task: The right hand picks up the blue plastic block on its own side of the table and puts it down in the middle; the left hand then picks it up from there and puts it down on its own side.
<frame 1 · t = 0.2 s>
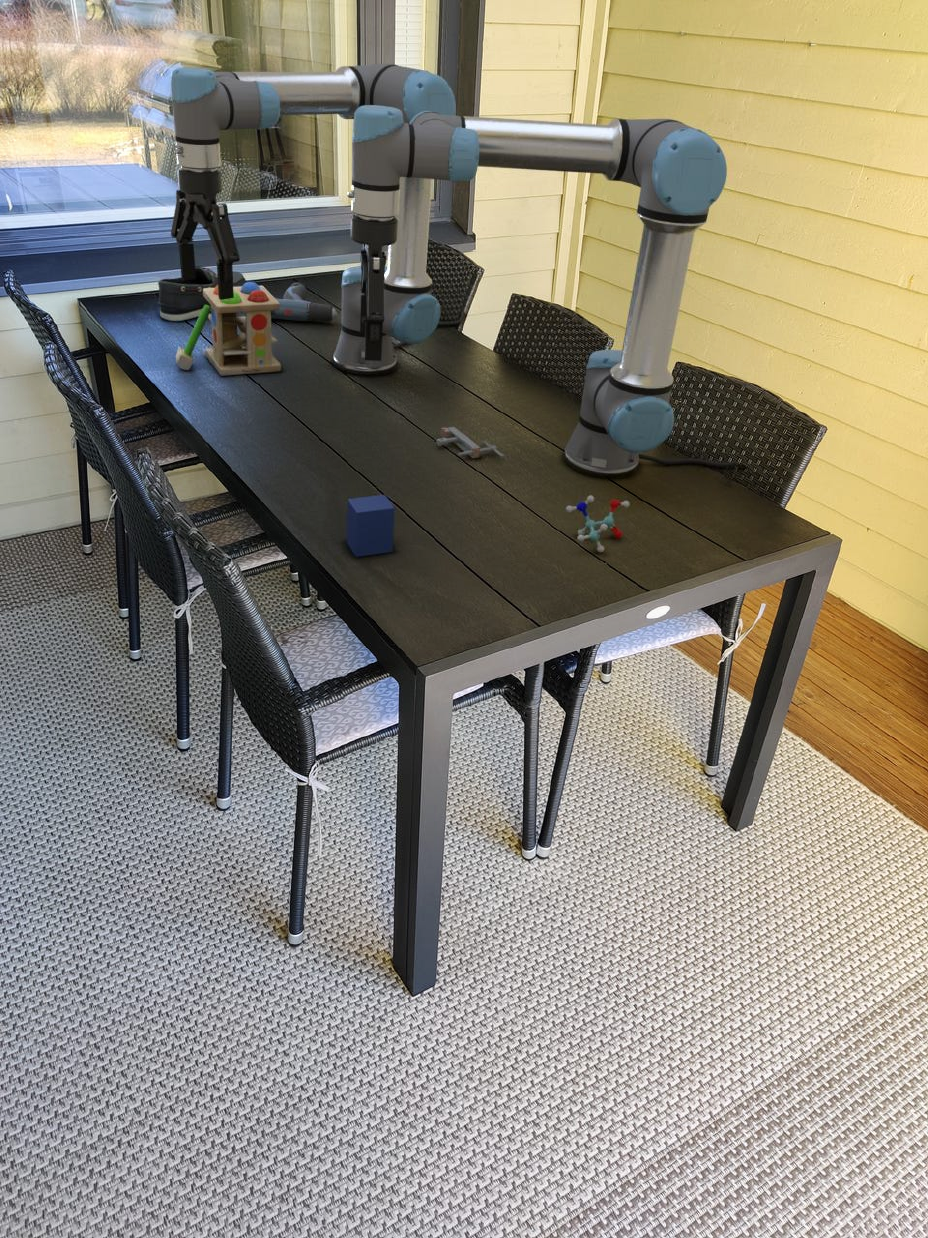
left hand: (207, 288, 186), 28 cm above the table, tool pointing down, fingers open, 13 cm apart
right hand: (370, 345, 168), 28 cm above the table, tool pointing down, fingers open, 13 cm apart
block: (369, 547, 167), on the table
molecular model: (592, 539, 175), on the table
power drill: (305, 313, 267), on the table
boat shoe: (205, 305, 265), on the table
pounding bench toy: (225, 365, 230), on the table
clamp: (466, 451, 202), on the table
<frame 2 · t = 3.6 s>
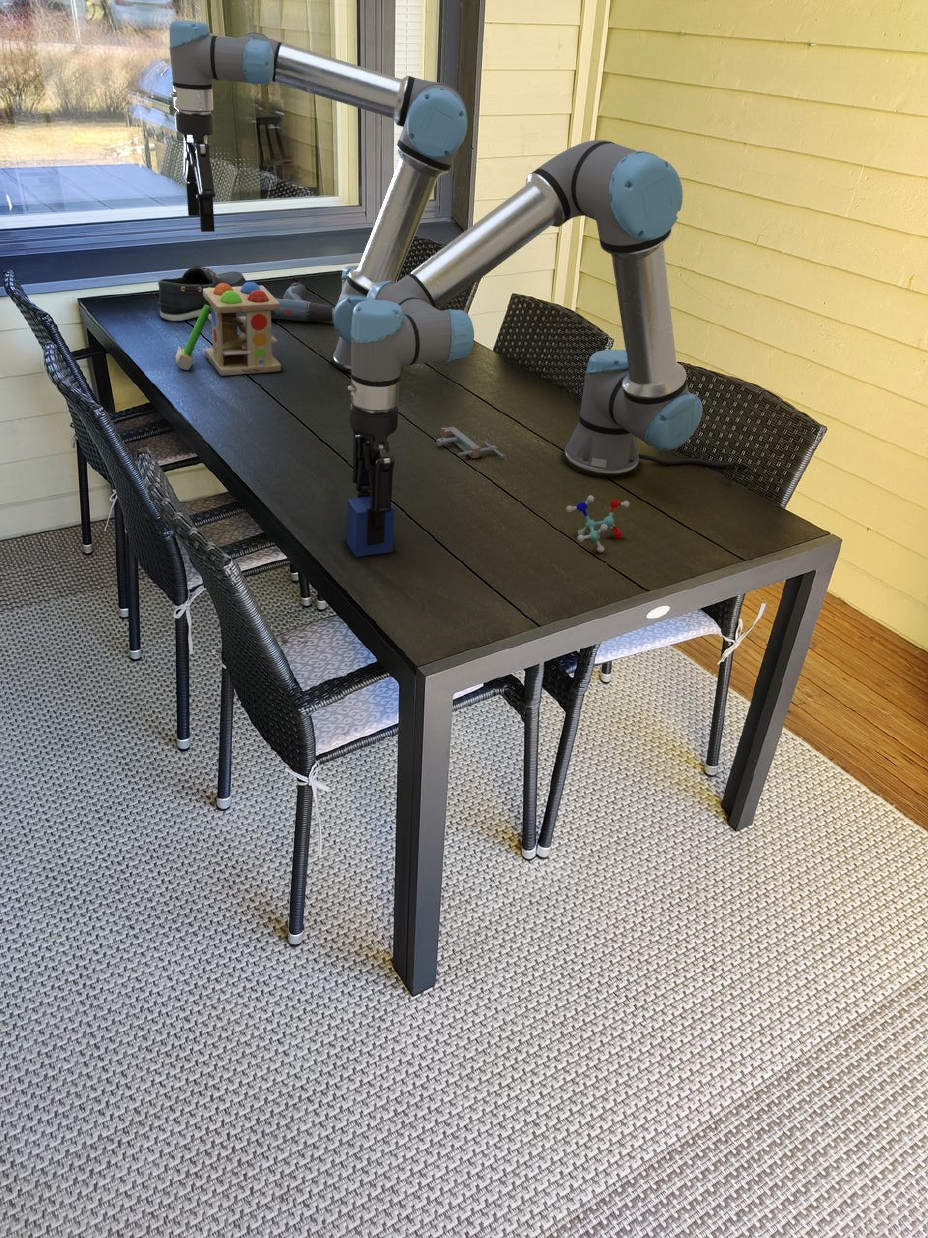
left hand: (201, 223, 207), 33 cm above the table, tool pointing down, fingers open, 13 cm apart
right hand: (370, 534, 165), 2 cm above the table, tool pointing down, fingers closed on block, 5 cm apart
block: (369, 547, 167), on the table, touching right hand
everything else where it was.
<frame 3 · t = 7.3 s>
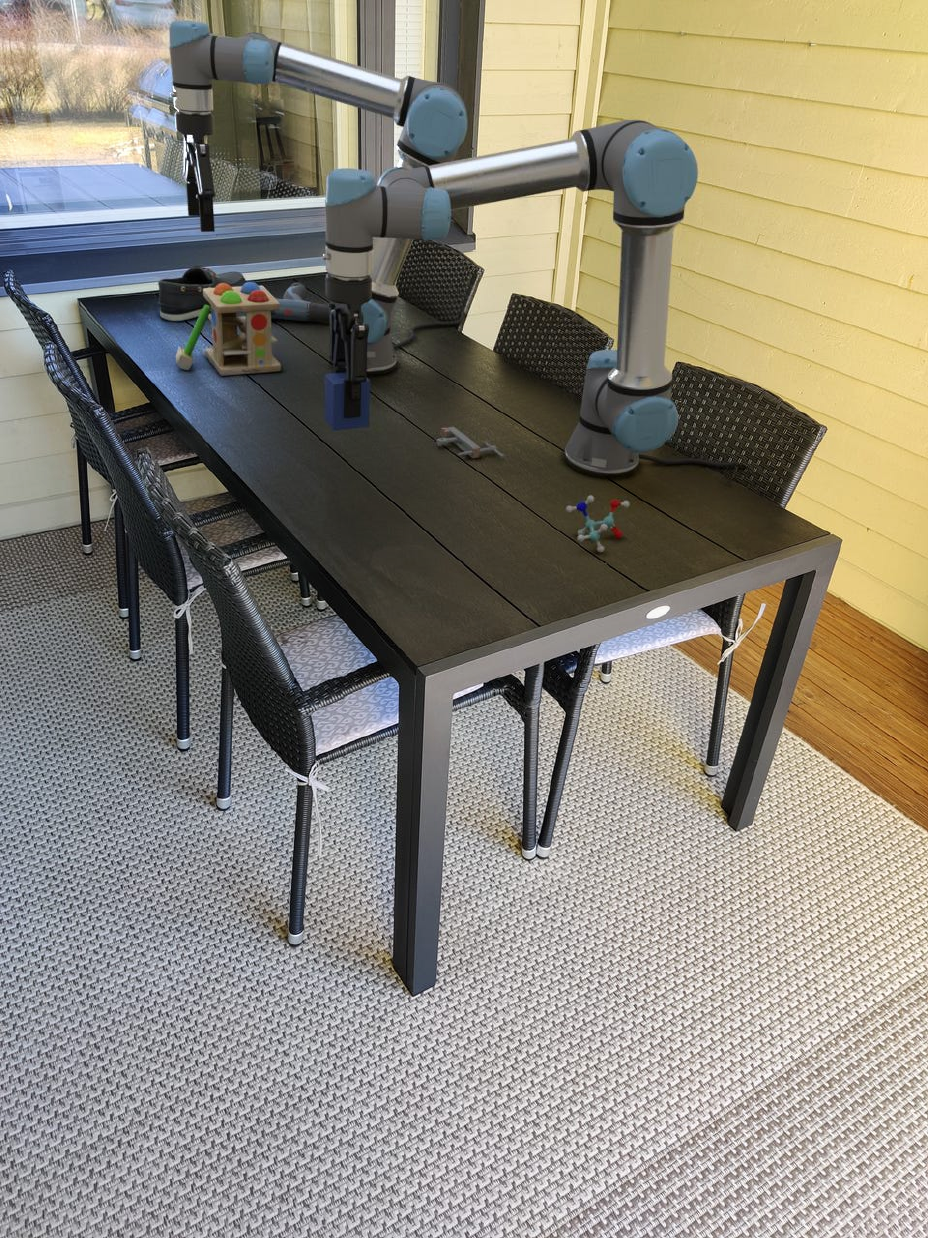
left hand: (201, 223, 207), 33 cm above the table, tool pointing down, fingers open, 13 cm apart
right hand: (347, 410, 171), 17 cm above the table, tool pointing down, fingers closed on block, 5 cm apart
block: (346, 423, 173), point 15 cm above the table, touching right hand
everything else where it was.
when the right hand's fingers open (4 cm above the table, at t = 11.0 s): block drops 1 cm, on the table.
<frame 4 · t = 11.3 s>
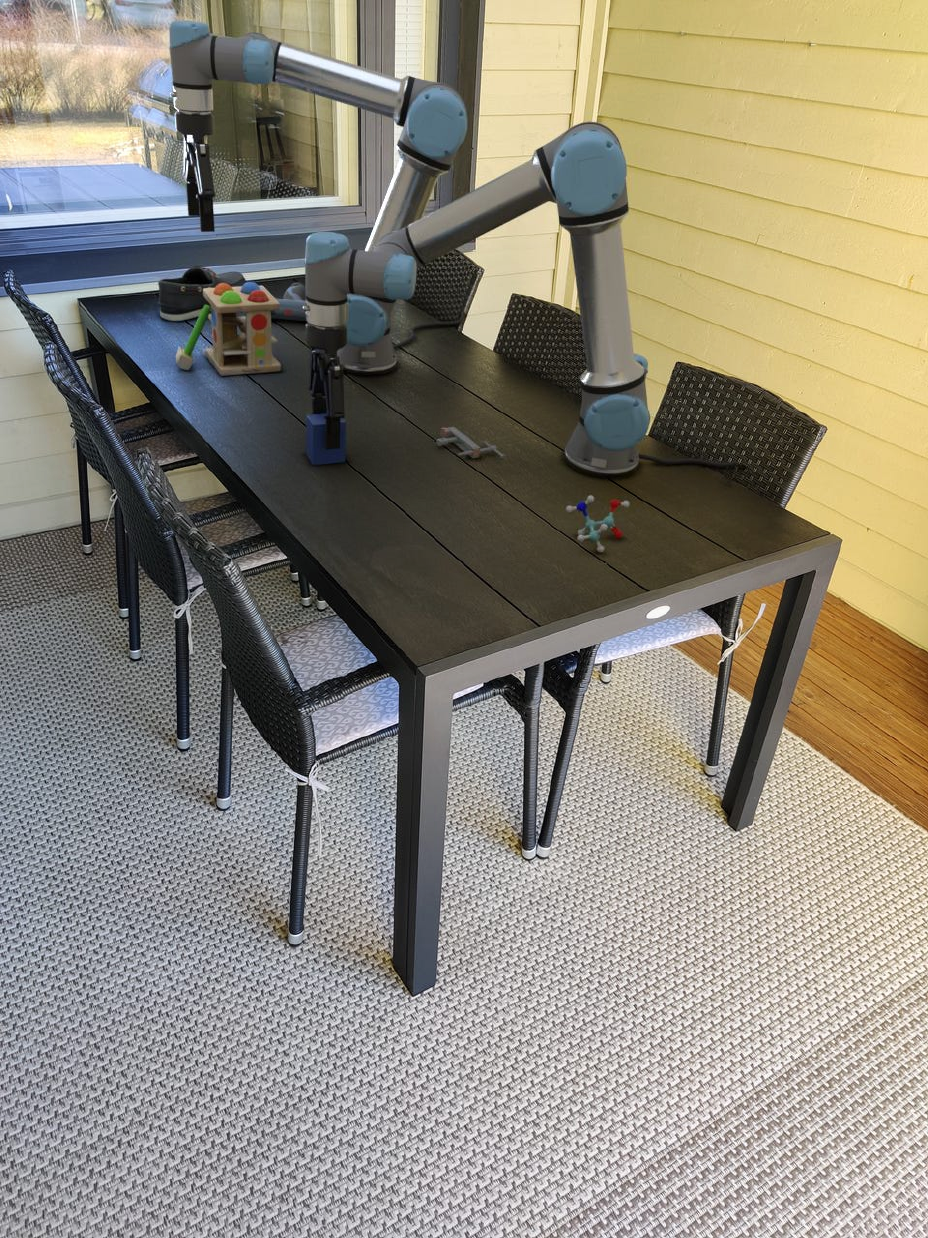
left hand: (201, 223, 207), 33 cm above the table, tool pointing down, fingers open, 13 cm apart
right hand: (325, 438, 191), 4 cm above the table, tool pointing down, fingers open, 8 cm apart
block: (325, 458, 194), on the table
everything else where it was.
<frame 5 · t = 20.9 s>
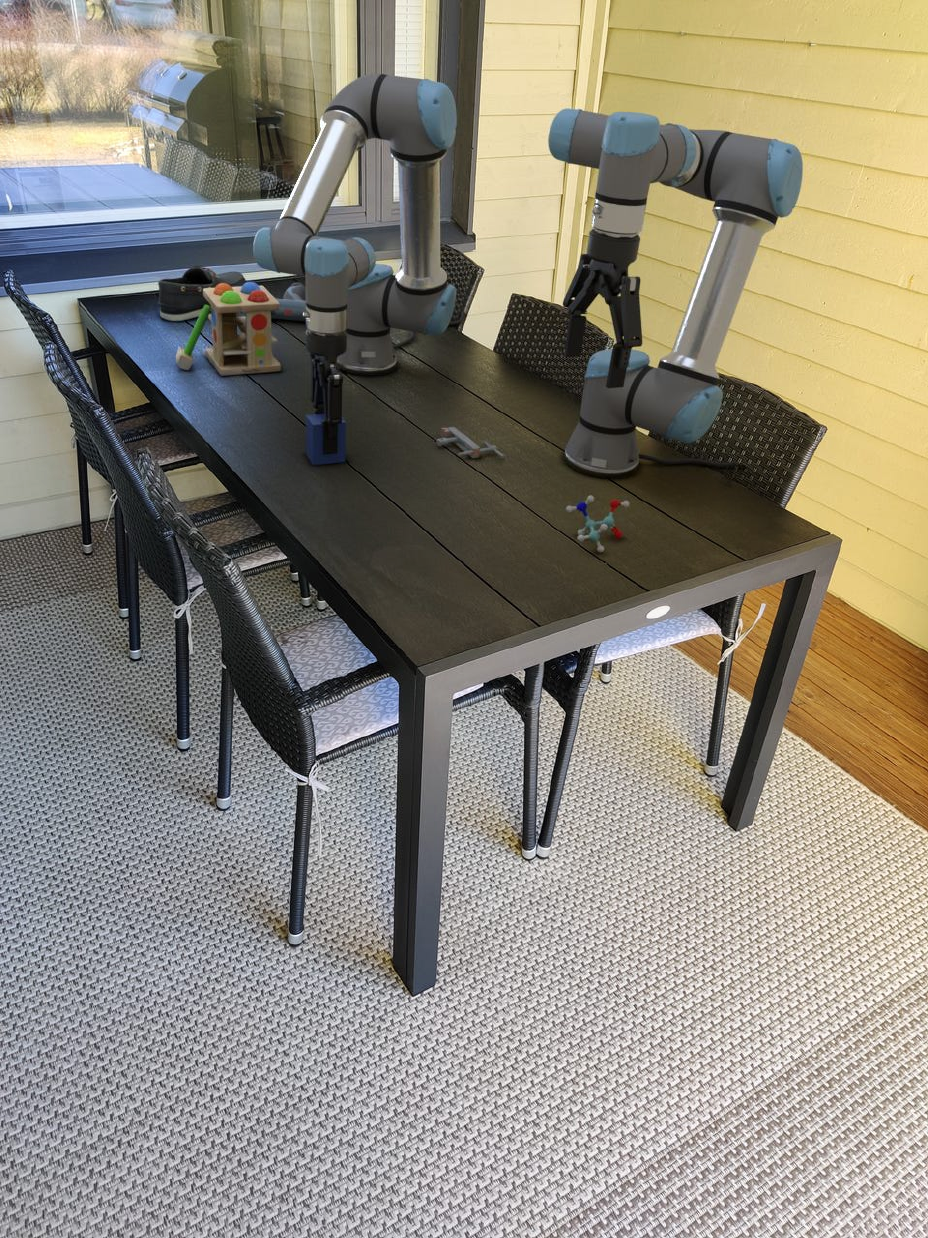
left hand: (325, 446, 192), 2 cm above the table, tool pointing down, fingers closed on block, 5 cm apart
right hand: (592, 371, 156), 32 cm above the table, tool pointing down, fingers open, 13 cm apart
block: (325, 458, 194), on the table, touching left hand
everything else where it was.
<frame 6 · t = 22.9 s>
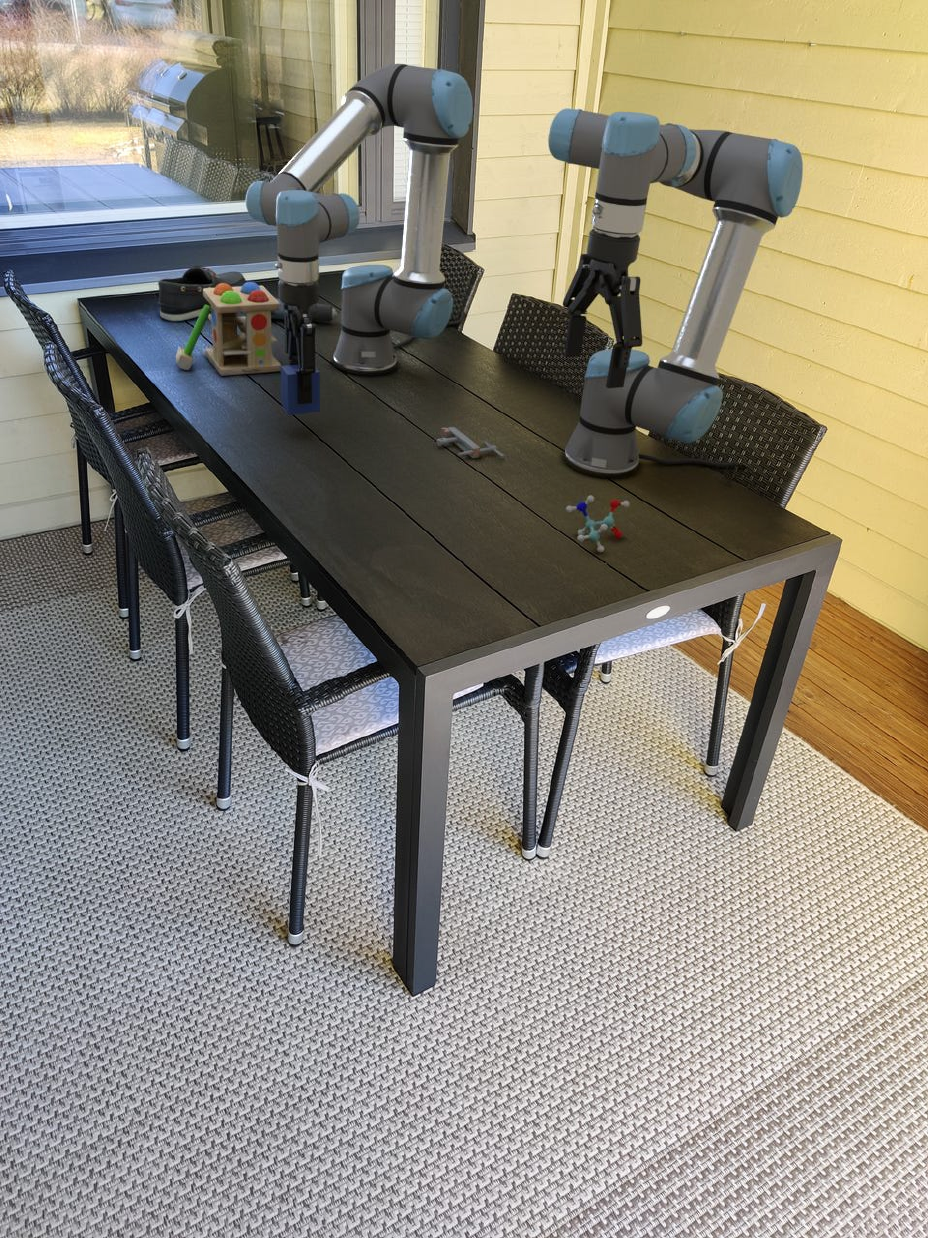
left hand: (300, 397, 198), 8 cm above the table, tool pointing down, fingers closed on block, 5 cm apart
right hand: (592, 371, 156), 32 cm above the table, tool pointing down, fingers open, 13 cm apart
block: (300, 408, 199), point 6 cm above the table, touching left hand
everything else where it was.
when the left hand's fingers open (4 cm above the table, at t = 25.2 s): block drops 1 cm, on the table.
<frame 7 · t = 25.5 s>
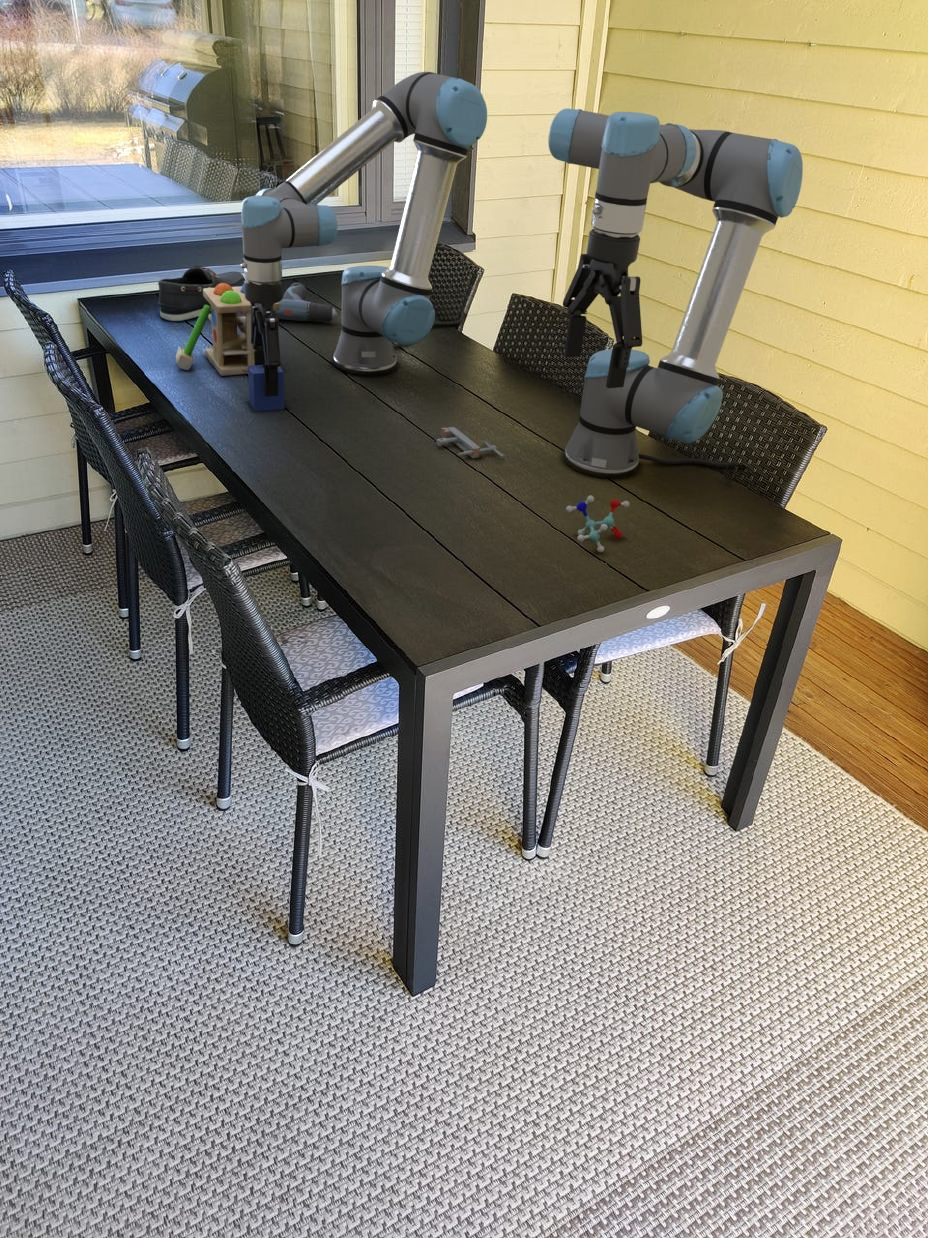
left hand: (266, 387, 210), 4 cm above the table, tool pointing down, fingers open, 8 cm apart
right hand: (592, 371, 156), 32 cm above the table, tool pointing down, fingers open, 13 cm apart
block: (267, 405, 213), on the table
everything else where it was.
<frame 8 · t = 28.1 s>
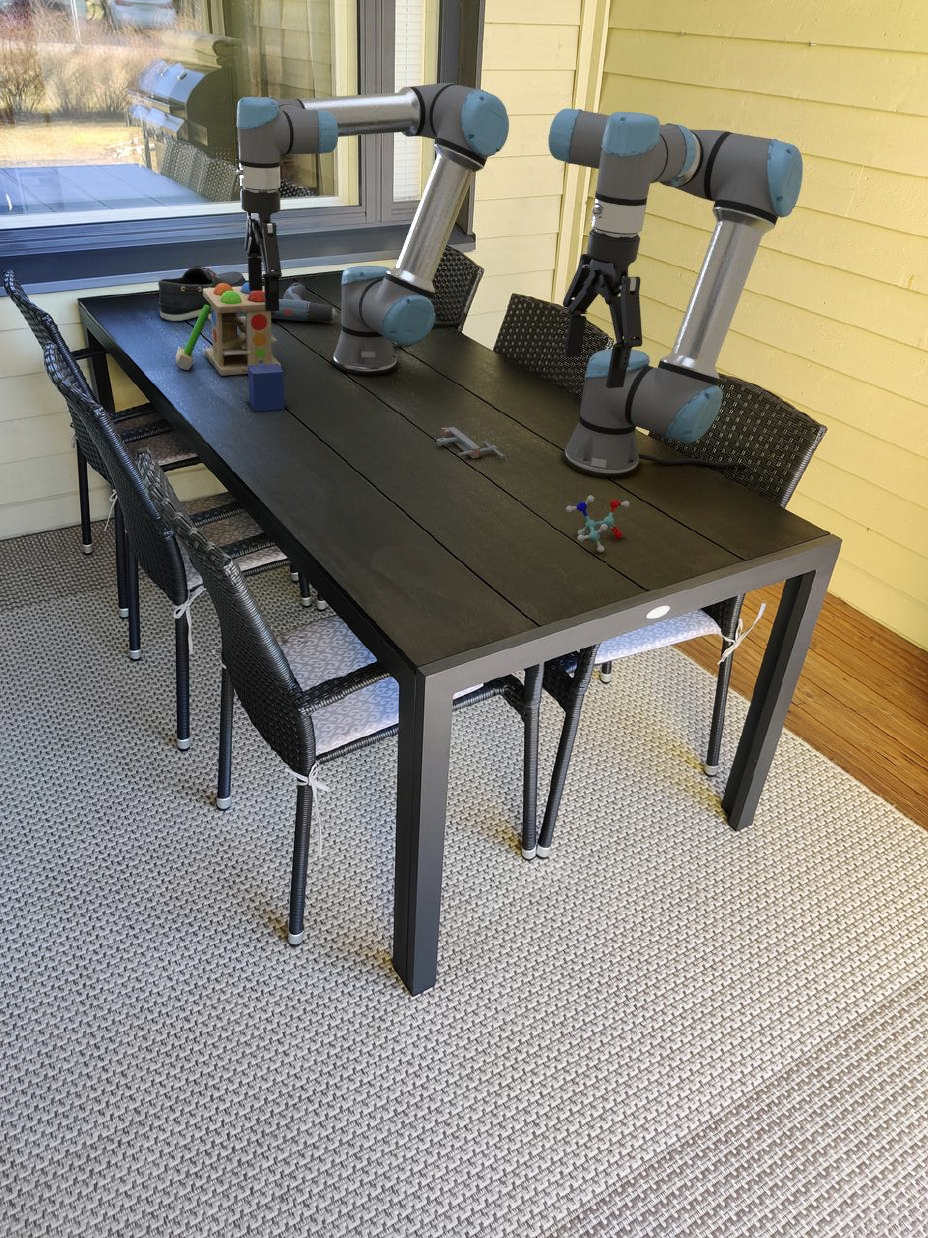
left hand: (263, 300, 200), 23 cm above the table, tool pointing down, fingers open, 13 cm apart
right hand: (592, 371, 156), 32 cm above the table, tool pointing down, fingers open, 13 cm apart
nothing on the table moved.
at the end: block inside the target area (0.0 cm from its centre), on the table; block tilted 0°; the two hands never held the block at the same time; the left hand is holding nothing; the right hand is holding nothing; block at rest at the end (0.0 cm/s) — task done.
